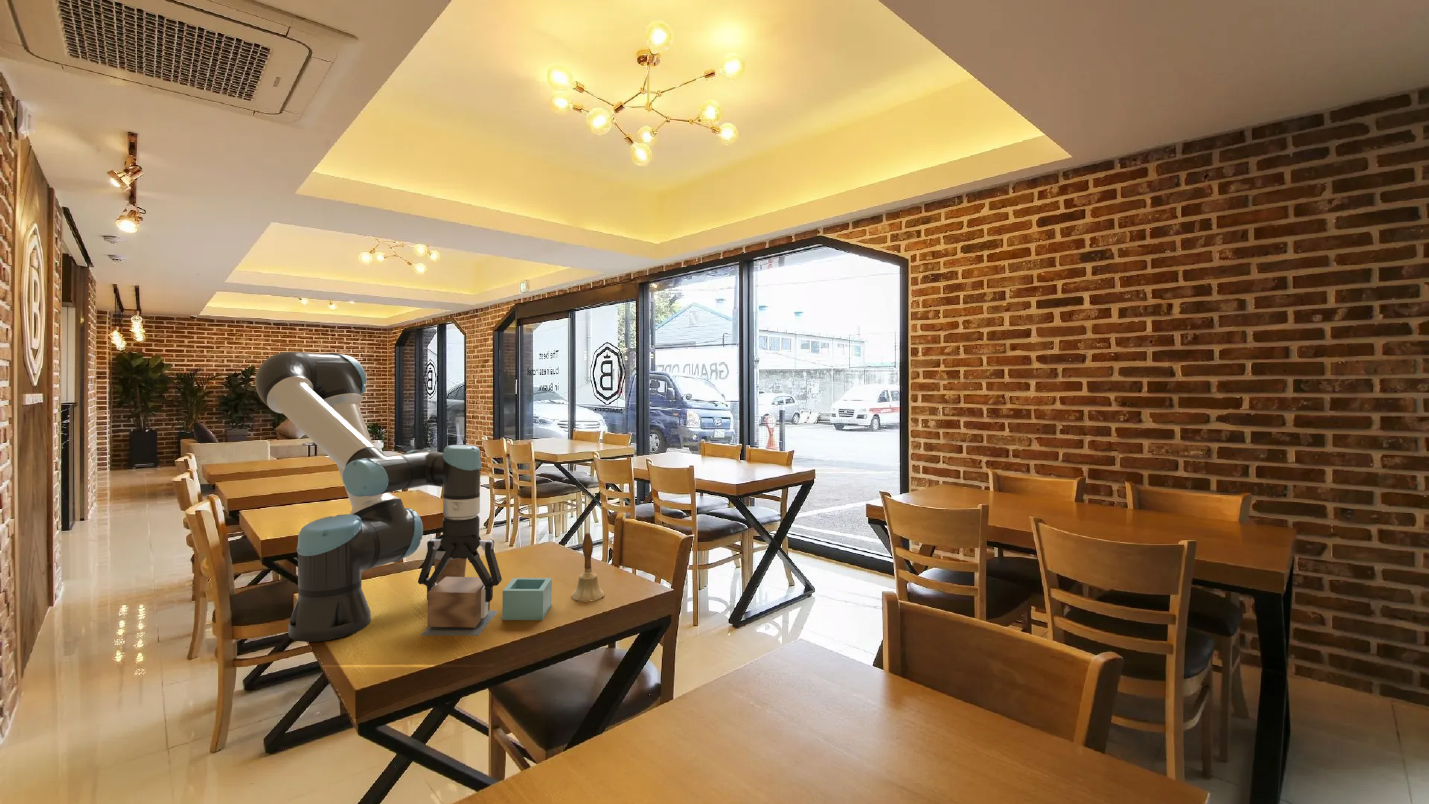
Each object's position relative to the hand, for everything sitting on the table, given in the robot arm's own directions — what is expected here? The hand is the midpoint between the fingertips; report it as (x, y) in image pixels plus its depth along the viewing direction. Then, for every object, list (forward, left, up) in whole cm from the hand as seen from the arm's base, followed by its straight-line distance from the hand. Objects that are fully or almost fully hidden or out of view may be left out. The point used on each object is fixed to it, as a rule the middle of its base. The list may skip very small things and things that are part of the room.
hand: (459, 615), depth 139 cm
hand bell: (+25, +18, -2) cm, 31 cm away
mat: (0, 0, -2) cm, 2 cm away
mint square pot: (+13, +6, -2) cm, 15 cm away
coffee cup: (-9, +18, -2) cm, 20 cm away
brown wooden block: (0, 0, -1) cm, 1 cm away
